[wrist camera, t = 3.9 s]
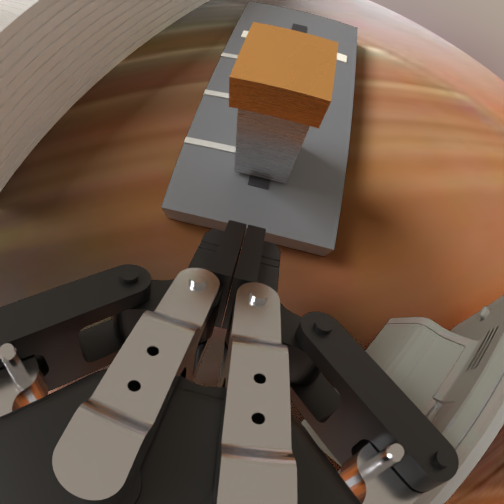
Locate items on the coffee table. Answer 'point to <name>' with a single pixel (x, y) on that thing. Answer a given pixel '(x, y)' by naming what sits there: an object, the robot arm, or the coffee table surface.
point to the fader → (279, 96)
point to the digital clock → (447, 382)
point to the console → (256, 188)
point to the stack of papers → (64, 59)
